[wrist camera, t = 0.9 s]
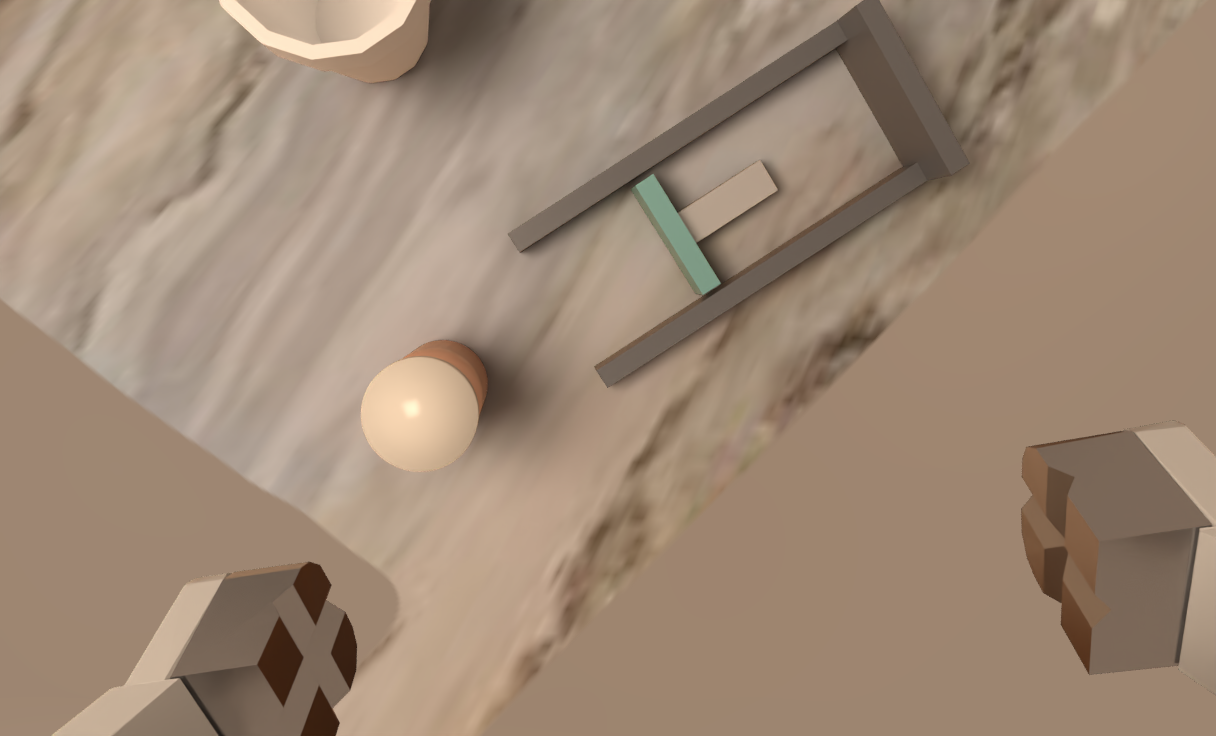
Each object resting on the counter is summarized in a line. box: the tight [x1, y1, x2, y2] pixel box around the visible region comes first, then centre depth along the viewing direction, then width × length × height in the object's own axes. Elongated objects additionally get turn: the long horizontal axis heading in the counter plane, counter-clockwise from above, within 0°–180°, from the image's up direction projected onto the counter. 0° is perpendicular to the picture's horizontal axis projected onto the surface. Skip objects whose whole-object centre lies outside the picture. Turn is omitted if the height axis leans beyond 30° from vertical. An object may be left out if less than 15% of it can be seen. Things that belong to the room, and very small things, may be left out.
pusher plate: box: [631, 160, 778, 295], centre depth 51 cm, size 7×7×2 cm
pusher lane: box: [508, 0, 970, 388], centre depth 50 cm, size 23×10×5 cm, turn 123°
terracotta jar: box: [361, 340, 488, 472], centre depth 47 cm, size 5×5×11 cm
